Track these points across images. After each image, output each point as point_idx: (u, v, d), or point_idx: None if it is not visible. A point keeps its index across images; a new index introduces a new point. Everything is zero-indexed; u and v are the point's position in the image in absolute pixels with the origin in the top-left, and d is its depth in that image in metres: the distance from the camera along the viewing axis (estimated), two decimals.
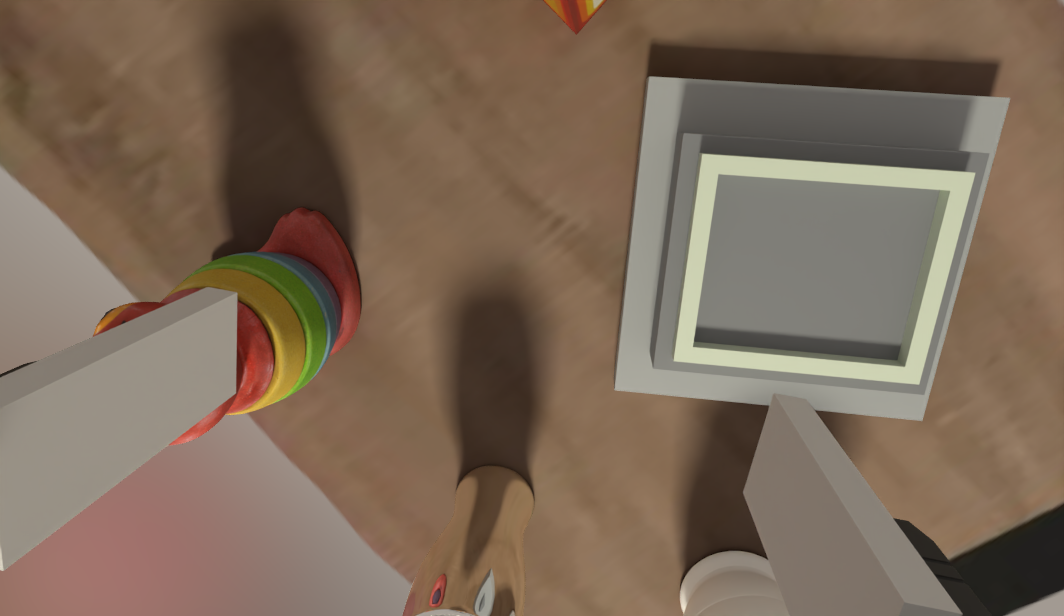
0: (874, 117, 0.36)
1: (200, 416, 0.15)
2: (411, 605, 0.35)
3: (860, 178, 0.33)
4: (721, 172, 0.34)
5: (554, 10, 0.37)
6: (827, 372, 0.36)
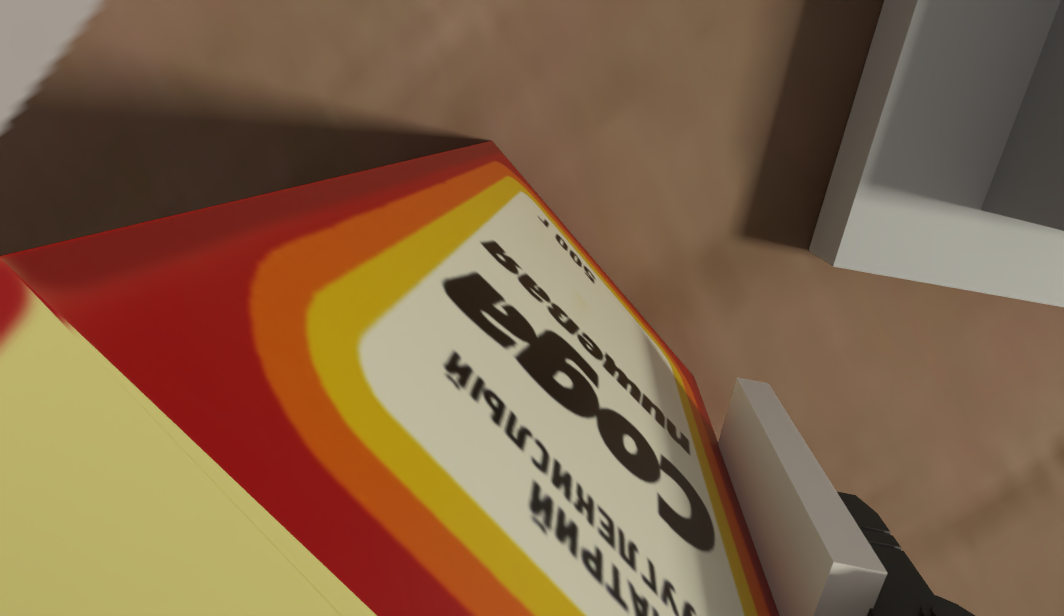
0: None
1: None
2: None
3: None
4: None
5: None
6: None
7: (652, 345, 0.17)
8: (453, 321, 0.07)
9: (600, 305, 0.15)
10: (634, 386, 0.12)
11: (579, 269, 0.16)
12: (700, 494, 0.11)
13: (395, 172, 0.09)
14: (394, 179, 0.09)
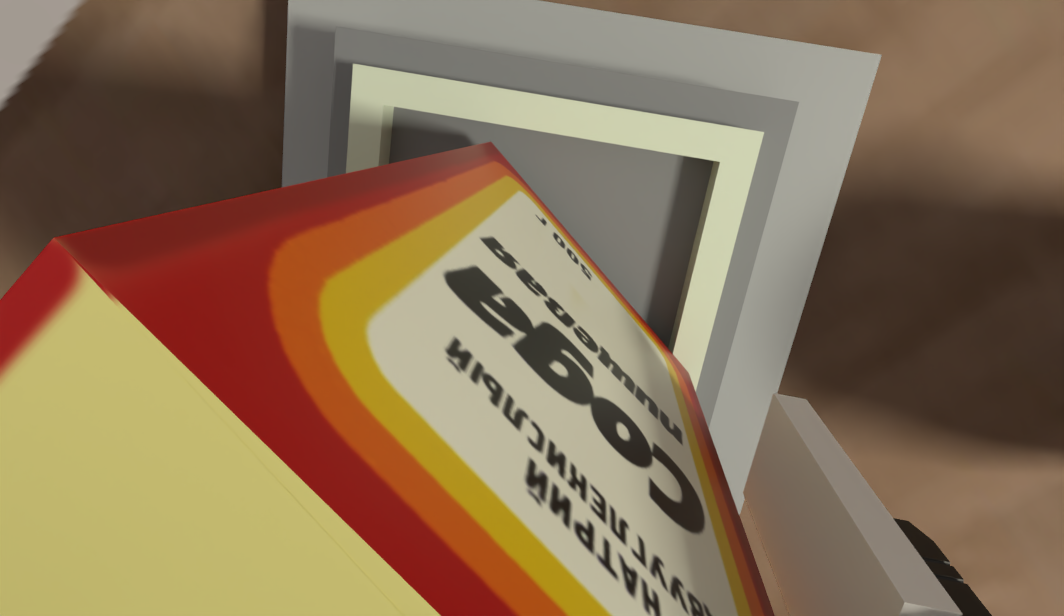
0: (320, 174, 0.23)
1: None
2: None
3: None
4: None
5: None
6: (711, 303, 0.19)
7: (647, 341, 0.18)
8: (454, 310, 0.08)
9: (596, 301, 0.16)
10: (628, 378, 0.13)
11: (576, 266, 0.16)
12: (691, 481, 0.12)
13: (398, 170, 0.10)
14: (397, 176, 0.09)
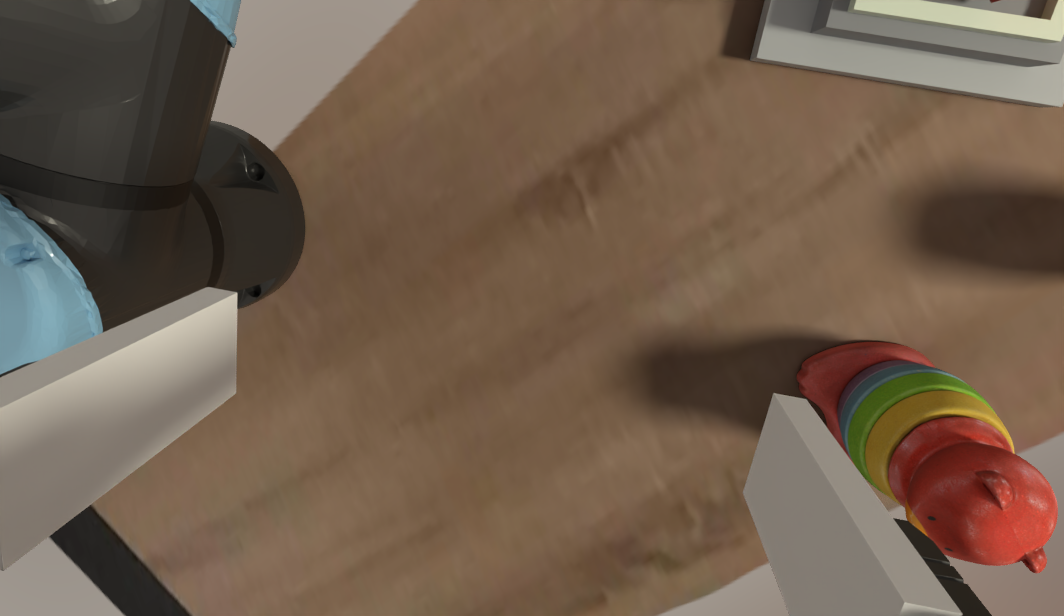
0: None
1: (200, 416, 0.15)
2: None
3: None
4: None
5: None
6: None
7: None
8: None
9: None
10: None
11: None
12: None
13: None
14: None
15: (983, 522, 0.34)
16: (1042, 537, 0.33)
